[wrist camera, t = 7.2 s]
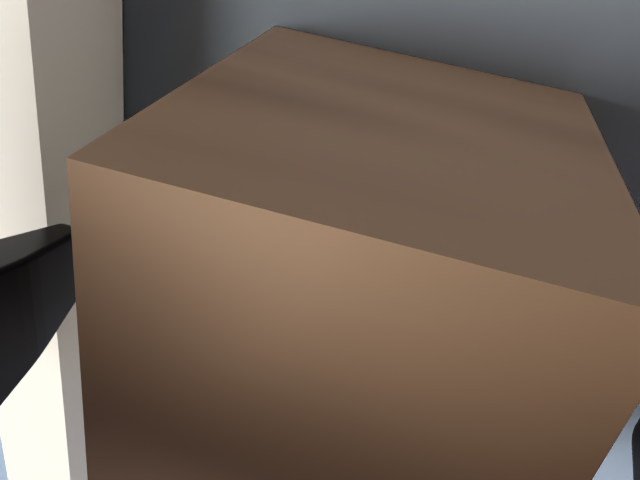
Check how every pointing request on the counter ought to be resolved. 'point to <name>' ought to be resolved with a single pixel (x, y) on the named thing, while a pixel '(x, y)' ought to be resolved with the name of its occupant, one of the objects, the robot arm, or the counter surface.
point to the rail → (51, 195)
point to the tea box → (353, 275)
